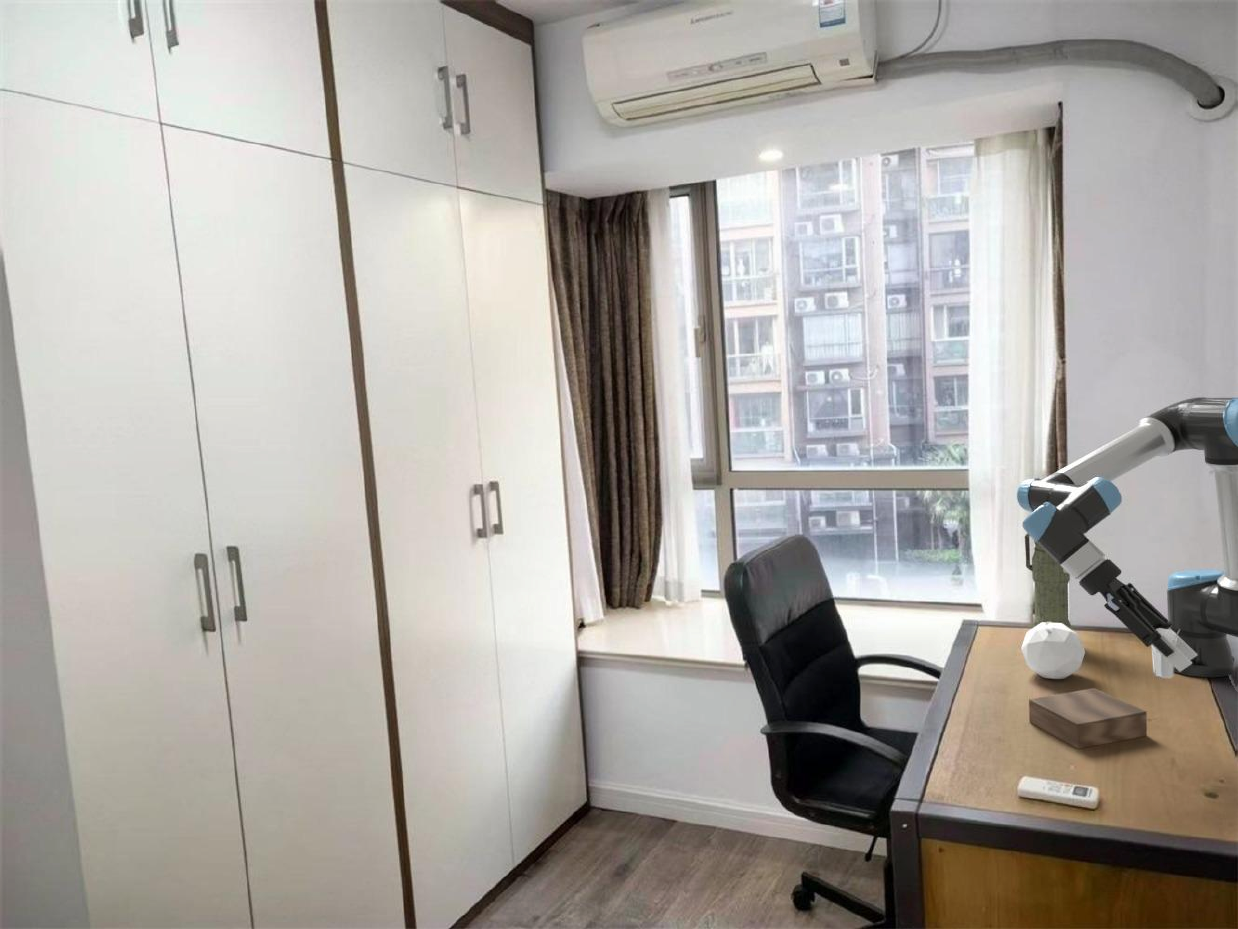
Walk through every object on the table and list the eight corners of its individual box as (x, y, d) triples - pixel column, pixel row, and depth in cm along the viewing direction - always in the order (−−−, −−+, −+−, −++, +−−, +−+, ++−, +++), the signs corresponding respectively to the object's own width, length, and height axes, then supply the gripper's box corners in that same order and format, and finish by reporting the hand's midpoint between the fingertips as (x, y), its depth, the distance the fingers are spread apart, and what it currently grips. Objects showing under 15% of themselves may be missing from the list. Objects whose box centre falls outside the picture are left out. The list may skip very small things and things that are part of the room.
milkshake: (1172, 682, 168) (1172, 631, 167) (1144, 674, 173) (1144, 625, 171) (1187, 677, 170) (1187, 626, 169) (1159, 669, 175) (1158, 620, 174)
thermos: (1026, 638, 240) (1023, 510, 236) (1076, 640, 235) (1073, 510, 231) (1027, 648, 232) (1024, 516, 228) (1078, 651, 227) (1076, 516, 223)
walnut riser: (1094, 710, 191) (1094, 688, 191) (1146, 735, 178) (1146, 711, 177) (1029, 722, 188) (1029, 699, 187) (1077, 748, 174) (1077, 724, 174)
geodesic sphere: (1090, 670, 199) (1085, 612, 206) (1023, 666, 204) (1020, 609, 211) (1085, 689, 211) (1080, 633, 217) (1021, 685, 216) (1019, 631, 222)
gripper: (1089, 571, 186) (1181, 660, 177) (1064, 591, 173) (1162, 688, 164) (1117, 548, 182) (1213, 638, 173) (1094, 567, 169) (1196, 666, 160)
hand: (1188, 663), depth 169 cm, fingers closed on milkshake, 5 cm apart
